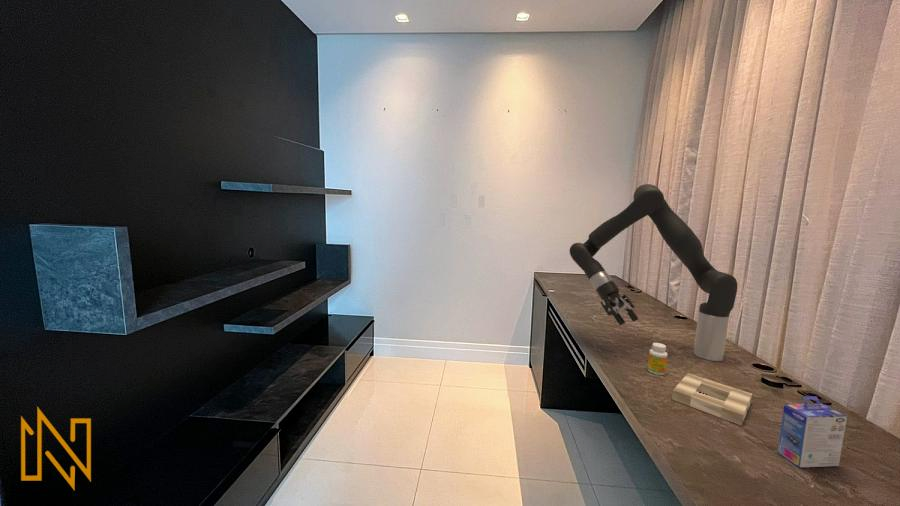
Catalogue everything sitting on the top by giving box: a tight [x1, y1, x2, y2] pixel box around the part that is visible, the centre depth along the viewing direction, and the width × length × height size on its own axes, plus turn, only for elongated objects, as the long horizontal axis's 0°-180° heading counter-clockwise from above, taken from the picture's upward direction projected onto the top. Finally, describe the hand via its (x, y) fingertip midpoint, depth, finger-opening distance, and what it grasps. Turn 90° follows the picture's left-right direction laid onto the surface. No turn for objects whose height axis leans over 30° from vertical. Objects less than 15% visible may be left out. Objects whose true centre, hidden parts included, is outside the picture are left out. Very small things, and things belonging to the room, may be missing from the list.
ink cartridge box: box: [777, 395, 848, 468], centre depth 78 cm, size 10×6×14 cm, turn 95°
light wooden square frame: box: [671, 372, 753, 426], centre depth 101 cm, size 16×16×3 cm
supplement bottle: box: [647, 342, 668, 376], centre depth 118 cm, size 5×5×10 cm
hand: (629, 322), depth 126 cm, fingers open, 8 cm apart
